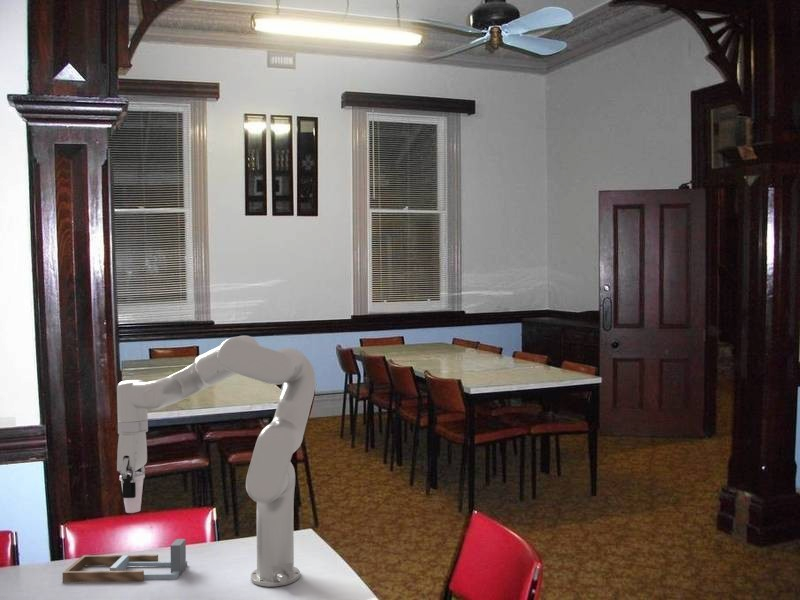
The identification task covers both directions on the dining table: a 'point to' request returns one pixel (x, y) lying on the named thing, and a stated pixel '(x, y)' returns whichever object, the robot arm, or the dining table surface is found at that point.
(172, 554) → the sled
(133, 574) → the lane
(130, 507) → the smoothie
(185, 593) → the dining table surface
